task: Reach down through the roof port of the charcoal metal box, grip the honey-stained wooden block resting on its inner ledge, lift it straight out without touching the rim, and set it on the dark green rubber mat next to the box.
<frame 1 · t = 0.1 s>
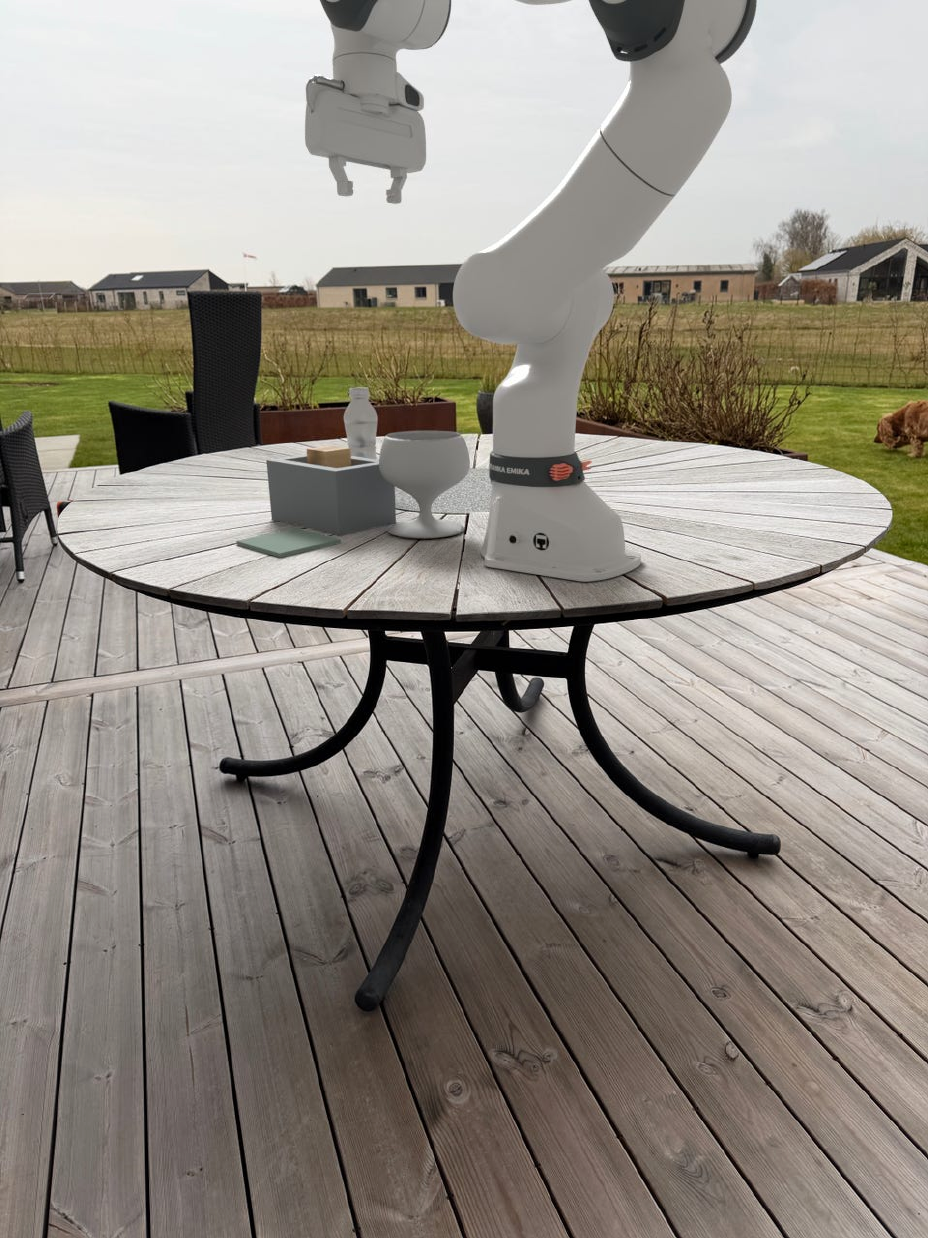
hand: (370, 199, 114), 48 cm above the table, tool pointing down, fingers open, 8 cm apart
honey block: (330, 485, 130), point 6 cm above the table, touching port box
green mat: (289, 543, 118), on the table
chalice: (426, 532, 125), on the table
plastic bottle: (364, 495, 154), on the table
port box: (333, 520, 132), on the table
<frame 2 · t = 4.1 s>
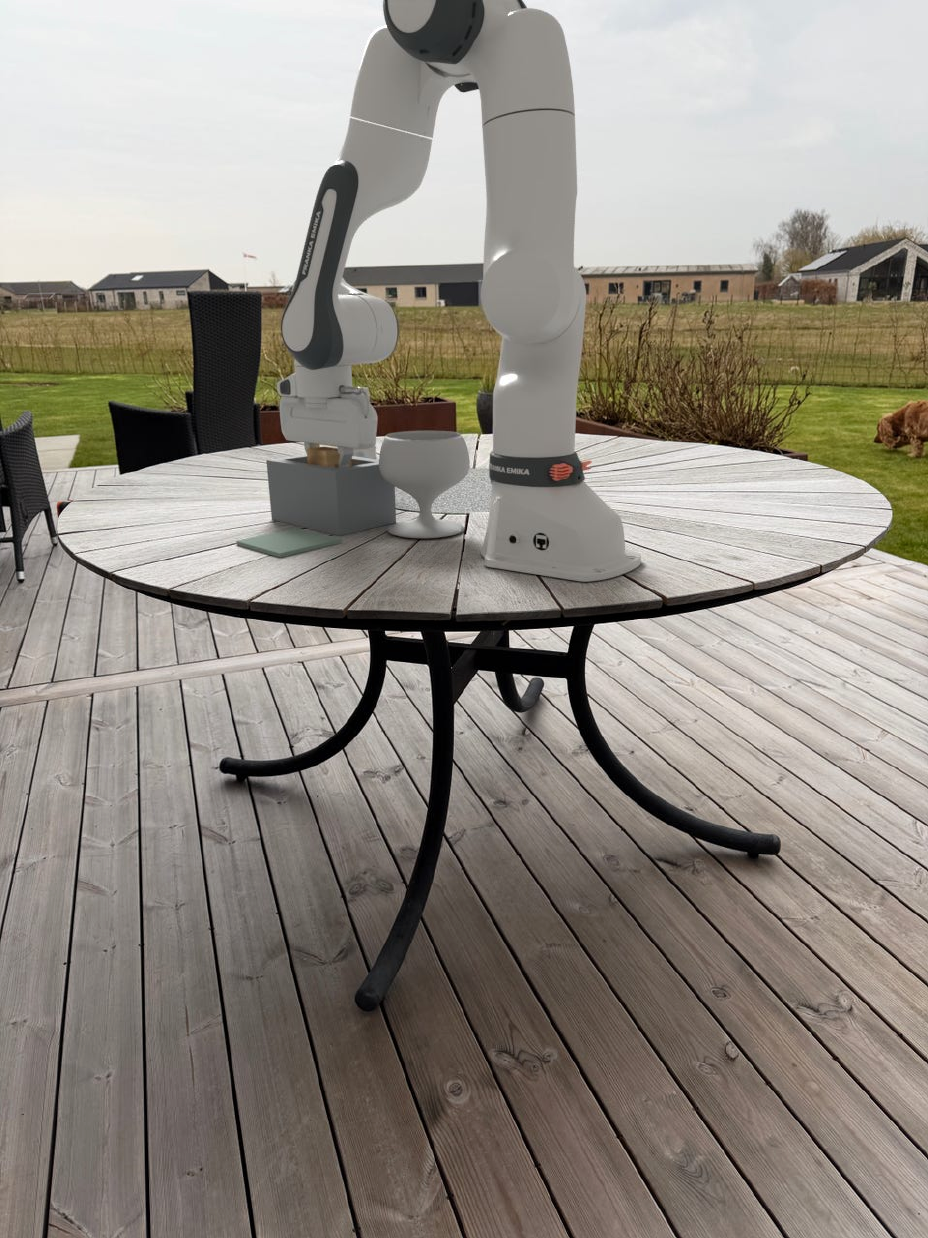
hand: (330, 472, 129), 8 cm above the table, tool pointing down, fingers closed on honey block, 5 cm apart
honey block: (330, 485, 130), point 6 cm above the table, touching gripper, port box
everything else where it was.
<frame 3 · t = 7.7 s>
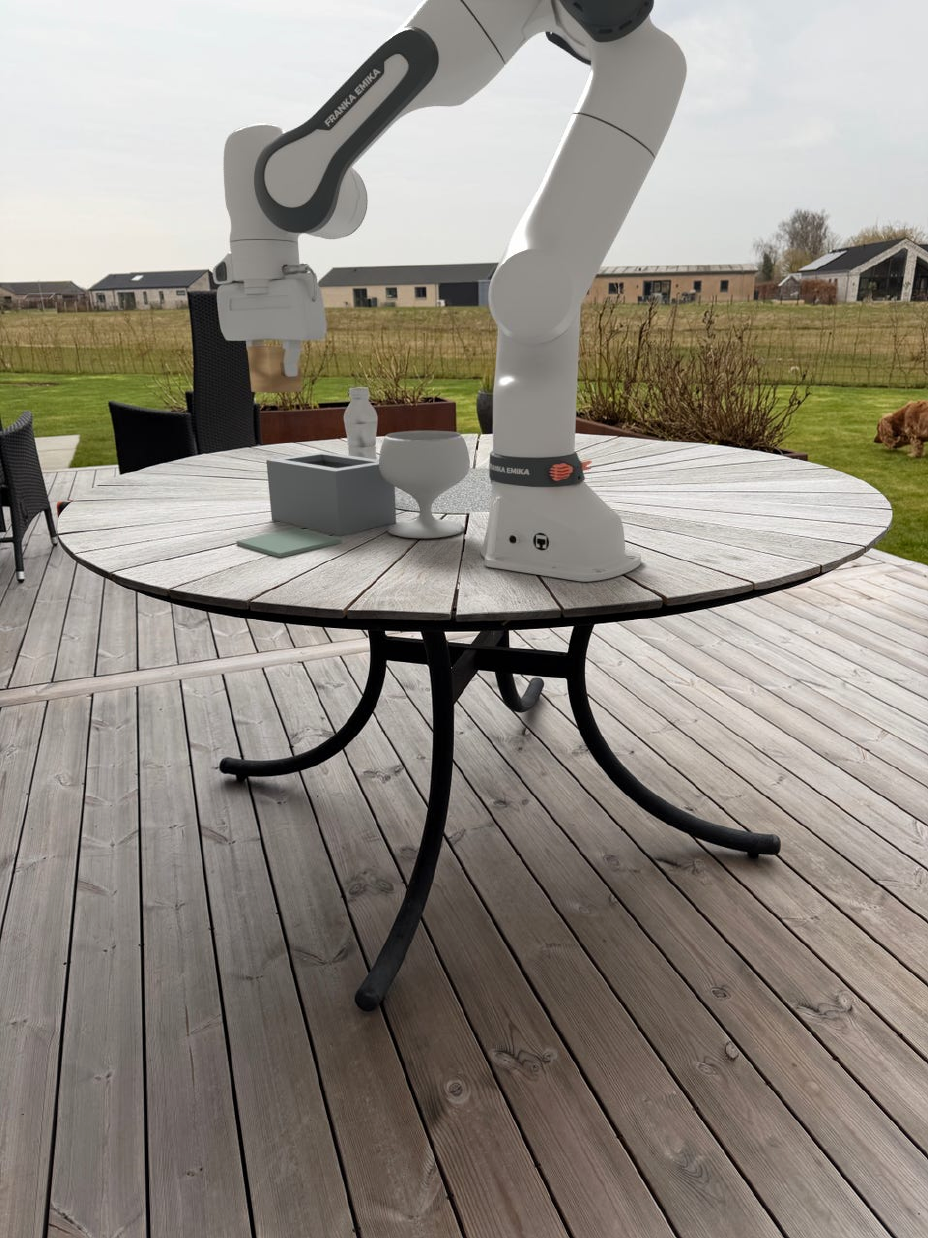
hand: (275, 375, 110), 24 cm above the table, tool pointing down, fingers closed on honey block, 5 cm apart
honey block: (277, 391, 110), point 22 cm above the table, touching gripper
everything else where it was.
when the fingers open (4 cm above the table, at t = 11.4 s): honey block drops 2 cm, resting on green mat.
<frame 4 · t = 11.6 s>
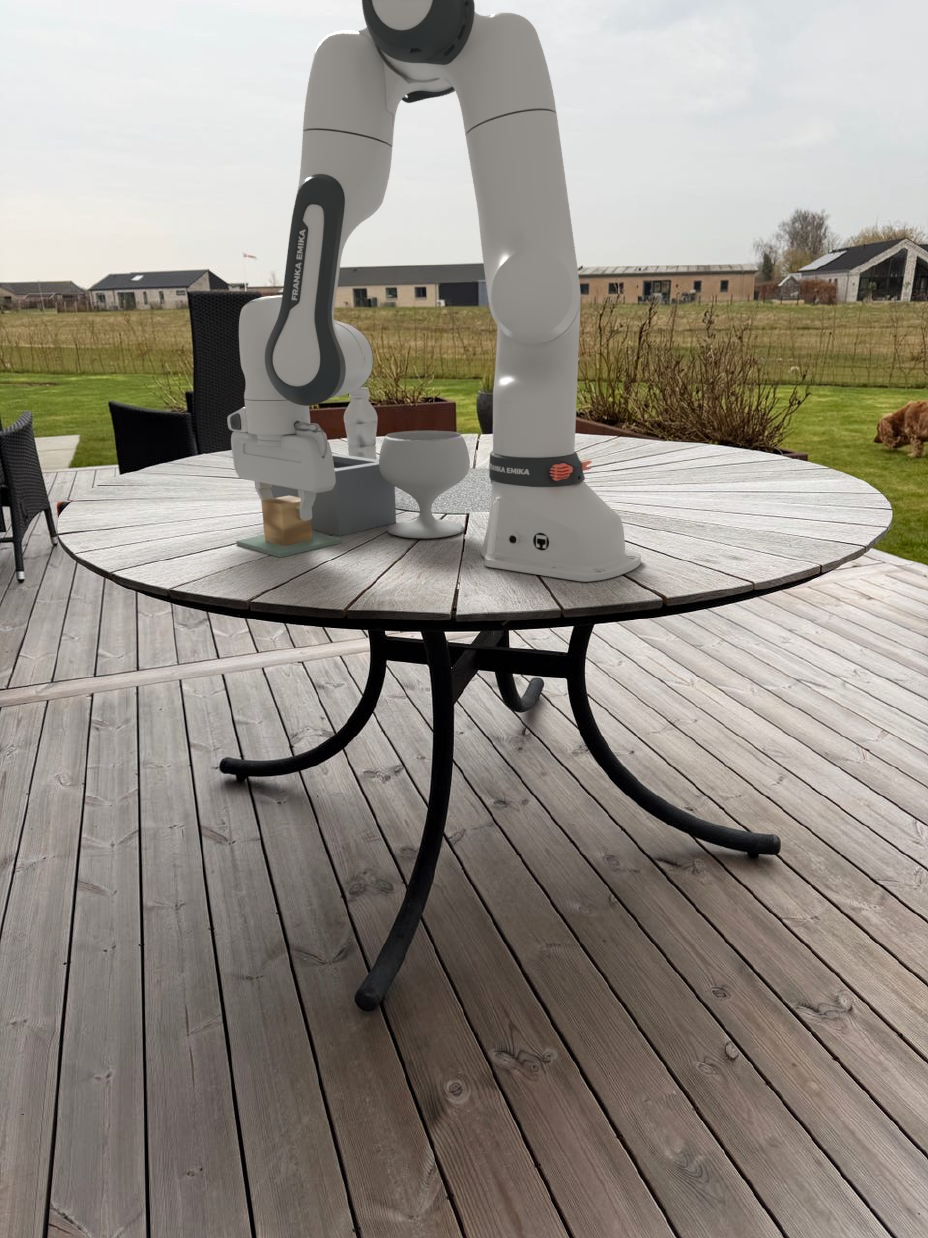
hand: (286, 515, 116), 4 cm above the table, tool pointing down, fingers open, 7 cm apart
honey block: (288, 539, 117), point 1 cm above the table, touching green mat
everything else where it was.
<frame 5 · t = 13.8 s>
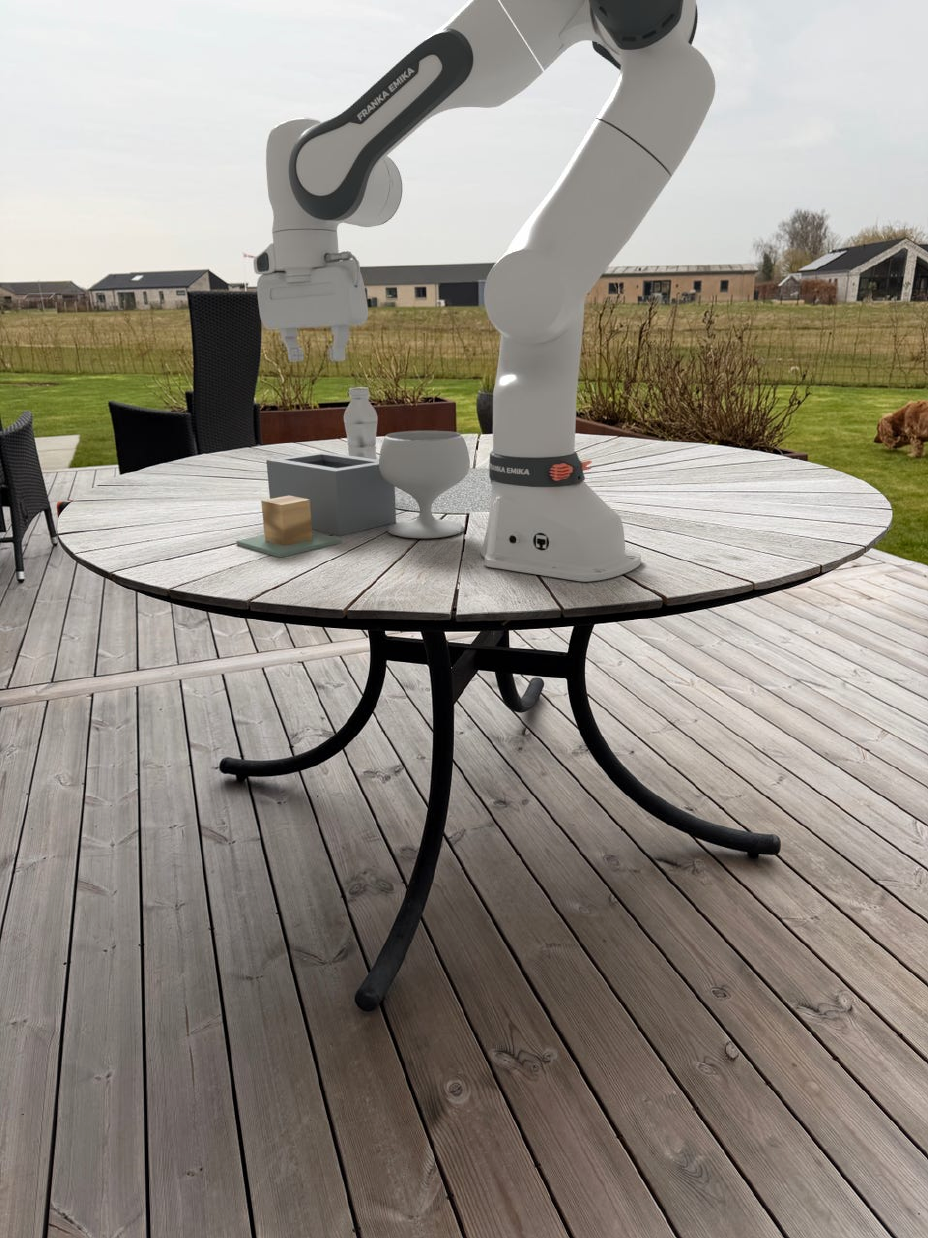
hand: (316, 361, 114), 26 cm above the table, tool pointing down, fingers open, 8 cm apart
nothing on the table moved.
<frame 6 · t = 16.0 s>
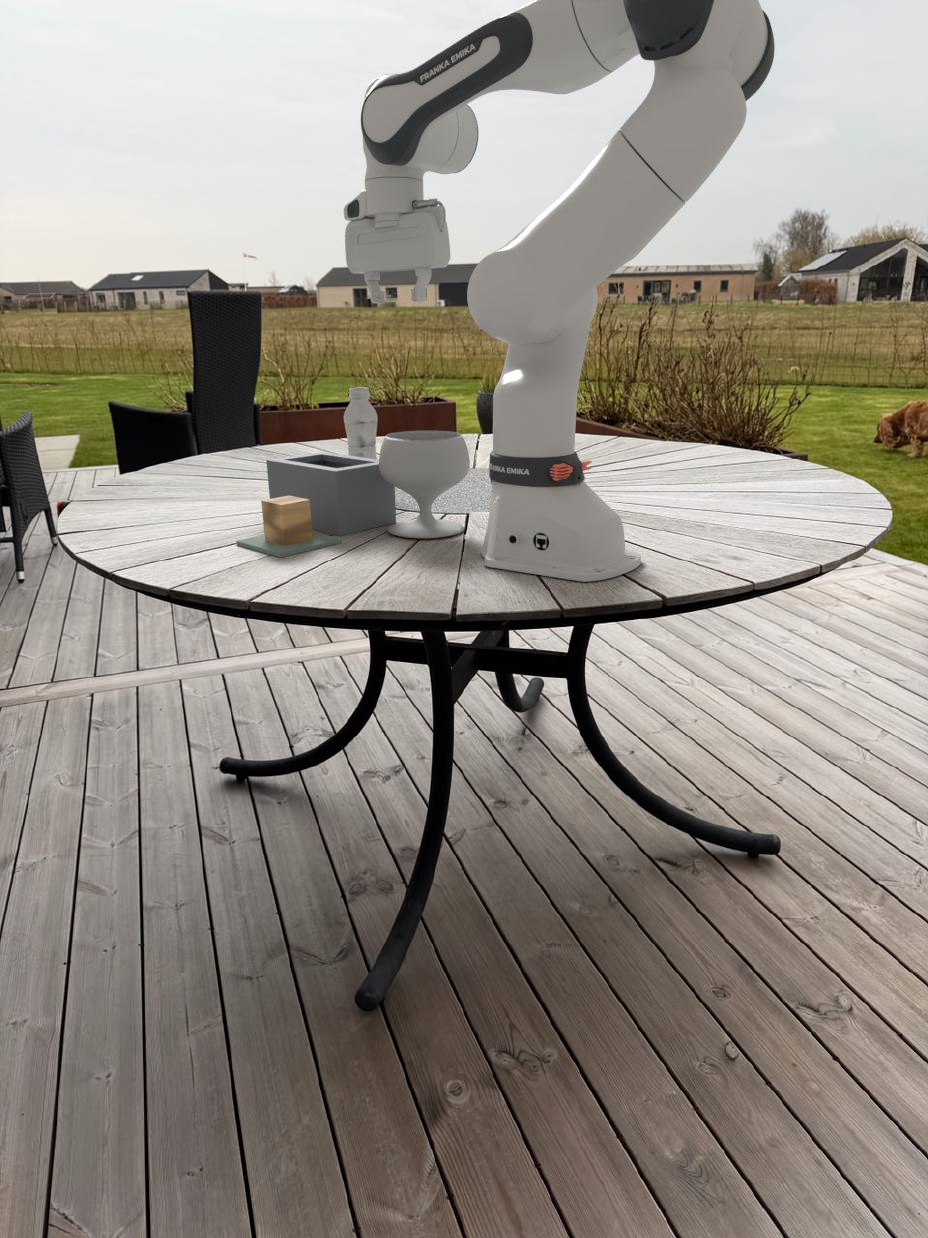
hand: (397, 302, 124), 34 cm above the table, tool pointing down, fingers open, 8 cm apart
nothing on the table moved.
at the end: honey block inside the target area on the green mat (0.1 cm from its centre), point 0.6 cm above the green mat's base; honey block tilted 0°; the gripper is holding nothing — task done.
